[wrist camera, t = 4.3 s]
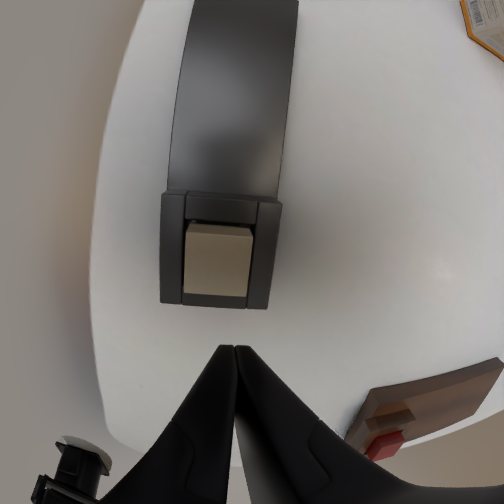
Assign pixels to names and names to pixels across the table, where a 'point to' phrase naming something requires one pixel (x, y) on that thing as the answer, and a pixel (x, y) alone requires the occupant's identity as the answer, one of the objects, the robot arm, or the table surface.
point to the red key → (385, 446)
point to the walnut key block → (423, 404)
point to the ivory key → (217, 259)
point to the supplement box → (485, 23)
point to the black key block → (229, 139)
